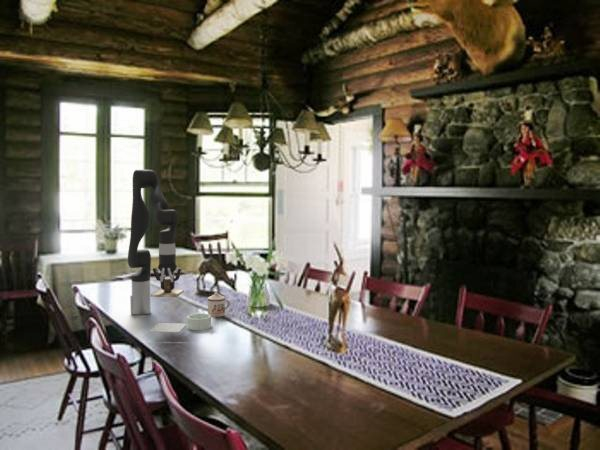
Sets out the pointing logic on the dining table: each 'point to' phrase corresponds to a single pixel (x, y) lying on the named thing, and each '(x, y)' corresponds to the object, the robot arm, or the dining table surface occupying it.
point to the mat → (168, 327)
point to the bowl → (198, 321)
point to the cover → (167, 291)
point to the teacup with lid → (217, 305)
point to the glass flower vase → (265, 295)
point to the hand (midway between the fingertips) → (167, 289)
